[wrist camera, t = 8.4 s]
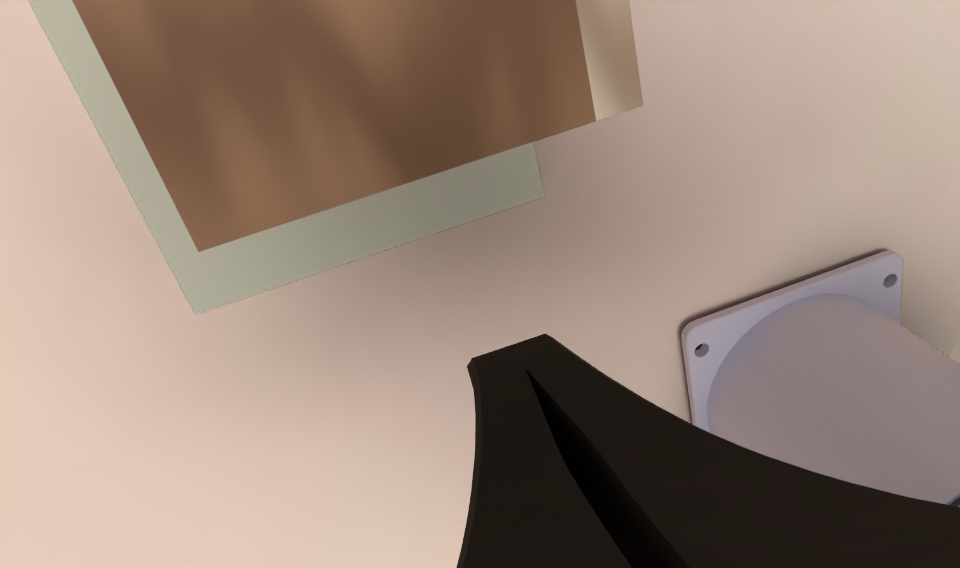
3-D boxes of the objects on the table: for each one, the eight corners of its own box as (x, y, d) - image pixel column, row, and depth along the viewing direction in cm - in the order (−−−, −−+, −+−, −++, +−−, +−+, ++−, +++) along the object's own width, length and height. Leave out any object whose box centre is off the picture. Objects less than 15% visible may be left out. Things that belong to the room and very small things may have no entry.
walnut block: (642, 105, 14) (198, 252, 14) (558, 60, 19) (217, 169, 18) (603, -187, 12) (57, -30, 11) (516, -161, 16) (118, -46, 15)
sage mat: (540, 191, 21) (544, 196, 20) (196, 307, 20) (194, 315, 19) (422, -341, 15) (425, -346, 14) (-77, -210, 14) (-87, -214, 14)
